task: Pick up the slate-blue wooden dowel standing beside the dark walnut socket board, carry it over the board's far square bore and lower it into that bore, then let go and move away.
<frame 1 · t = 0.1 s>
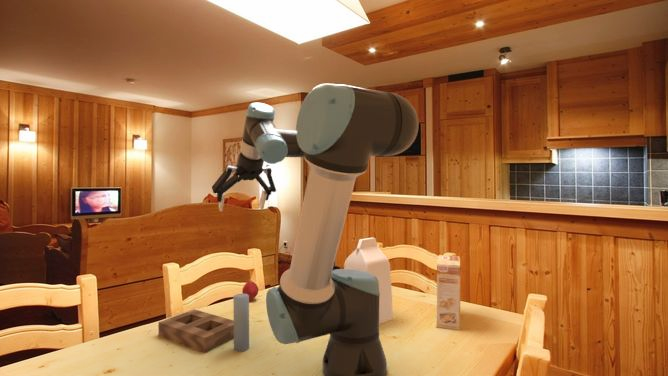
hand: (241, 207, 118), 36 cm above the table, tool tilted 35°, fingers open, 13 cm apart
peg: (241, 347, 95), on the table
milk: (367, 318, 116), on the table
mug: (329, 289, 147), on the table
coffeecake box: (448, 320, 114), on the table
onion: (250, 301, 133), on the table
socket board: (199, 335, 103), on the table
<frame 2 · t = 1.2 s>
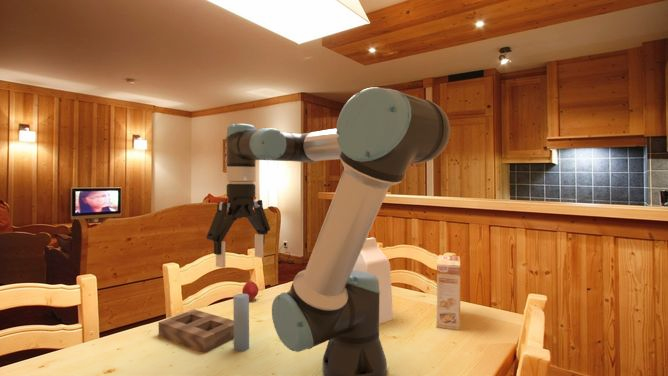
hand: (240, 261, 96), 23 cm above the table, tool pointing down, fingers open, 13 cm apart
nothing on the table moved.
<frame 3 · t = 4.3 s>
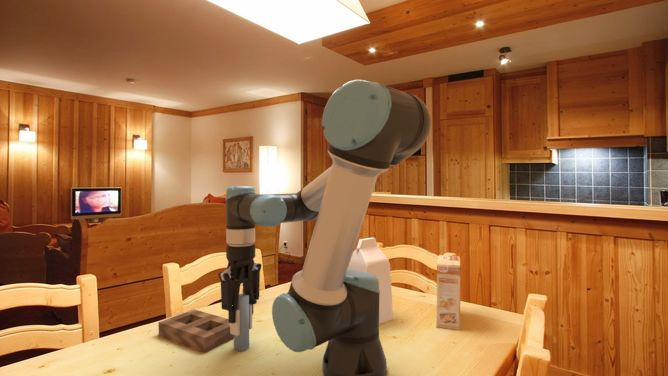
hand: (241, 330, 95), 5 cm above the table, tool pointing down, fingers closed on peg, 4 cm apart
peg: (241, 347, 95), on the table, touching gripper
everything else where it was.
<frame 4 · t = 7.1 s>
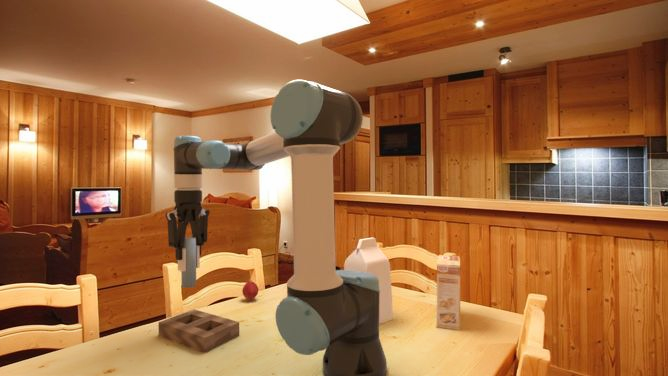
hand: (188, 268, 105), 19 cm above the table, tool pointing down, fingers closed on peg, 4 cm apart
peg: (188, 285, 105), point 14 cm above the table, touching gripper
everything else where it was.
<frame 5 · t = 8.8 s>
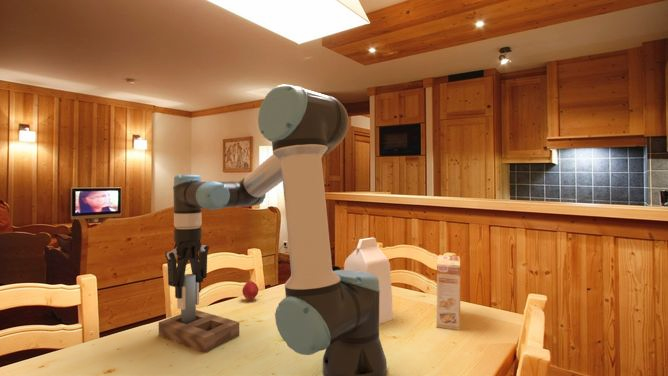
hand: (188, 306, 105), 8 cm above the table, tool pointing down, fingers closed on peg, 4 cm apart
peg: (188, 322, 105), point 3 cm above the table, touching gripper
everything else where it was.
when the fingers open (6 cm above the table, at t = 10.0 s): peg drops 1 cm, resting in socket board.
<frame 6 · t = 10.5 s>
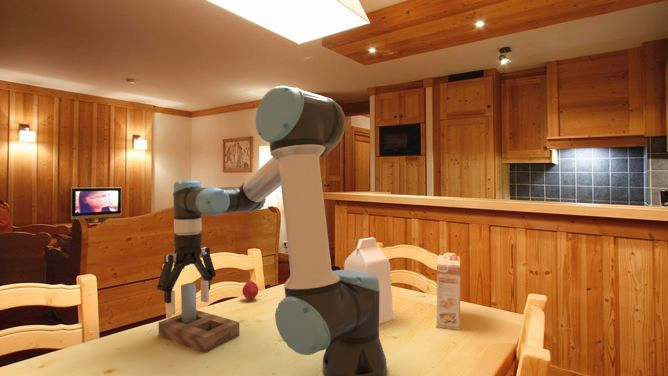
hand: (188, 307, 105), 7 cm above the table, tool pointing down, fingers open, 11 cm apart
peg: (189, 332, 105), resting in socket board
everything else where it was.
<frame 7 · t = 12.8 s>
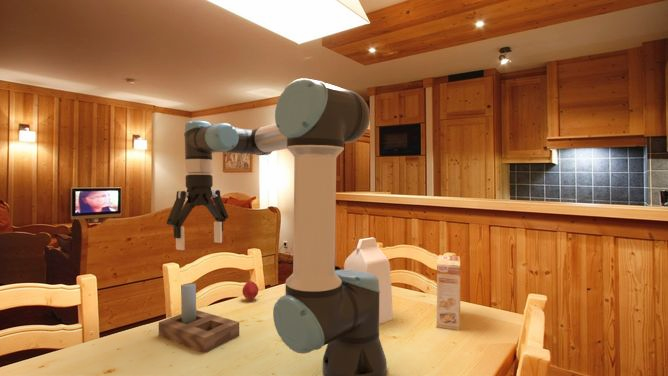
hand: (200, 245, 106), 25 cm above the table, tool pointing down, fingers open, 13 cm apart
nothing on the table moved.
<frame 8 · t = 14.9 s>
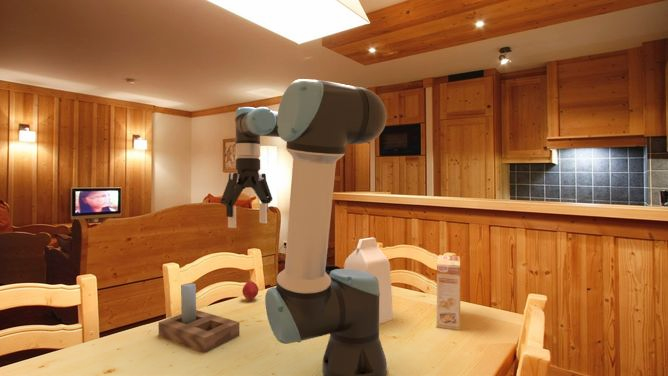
hand: (248, 225, 112), 31 cm above the table, tool pointing down, fingers open, 13 cm apart
nothing on the table moved.
at the end: peg 0.0 cm from the target spot on the socket board, point 0.0 cm above the socket board's base; peg tilted 0°; the gripper is holding nothing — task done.
